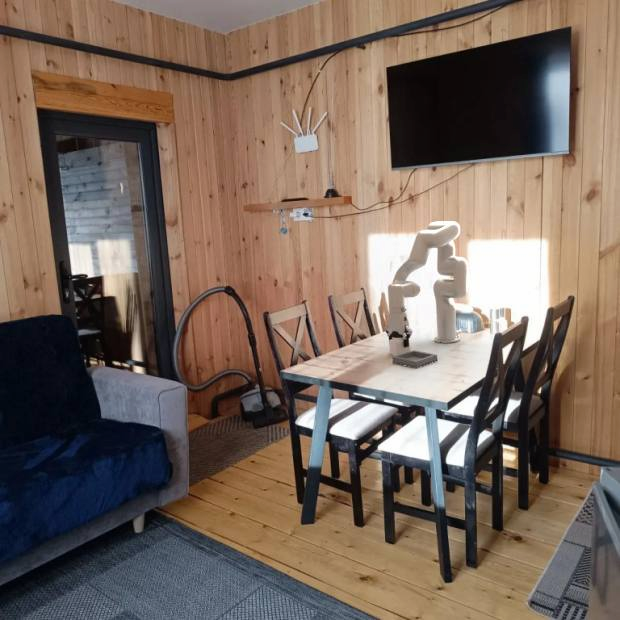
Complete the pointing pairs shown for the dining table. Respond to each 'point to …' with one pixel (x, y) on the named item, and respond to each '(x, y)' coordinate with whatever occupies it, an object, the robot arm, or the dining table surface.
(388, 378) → the dining table surface
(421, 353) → the tray
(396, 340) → the medicine bottle
